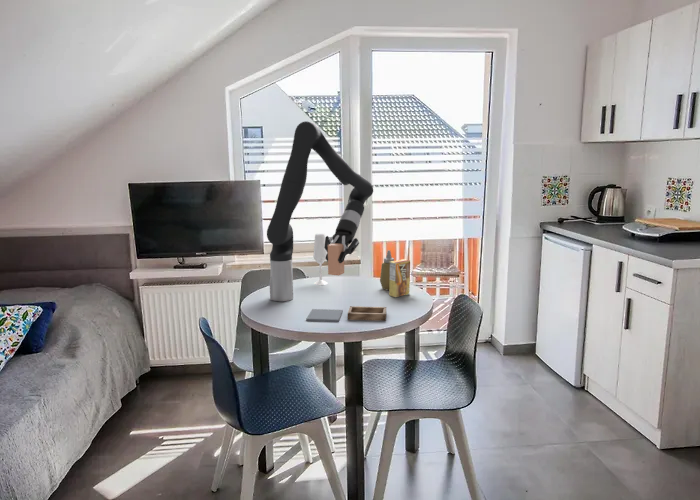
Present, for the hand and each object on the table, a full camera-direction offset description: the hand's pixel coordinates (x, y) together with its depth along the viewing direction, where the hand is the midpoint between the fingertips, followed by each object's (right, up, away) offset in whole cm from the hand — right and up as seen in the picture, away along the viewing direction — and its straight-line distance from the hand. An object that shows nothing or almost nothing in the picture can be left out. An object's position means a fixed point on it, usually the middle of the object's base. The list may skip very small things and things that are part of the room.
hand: (333, 261), depth 171 cm
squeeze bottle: (+24, -14, +45) cm, 53 cm away
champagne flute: (-8, -12, +56) cm, 58 cm away
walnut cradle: (+13, -21, +5) cm, 25 cm away
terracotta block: (+1, -5, +3) cm, 5 cm away
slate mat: (-3, -21, +6) cm, 22 cm away
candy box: (+28, -16, +35) cm, 47 cm away
